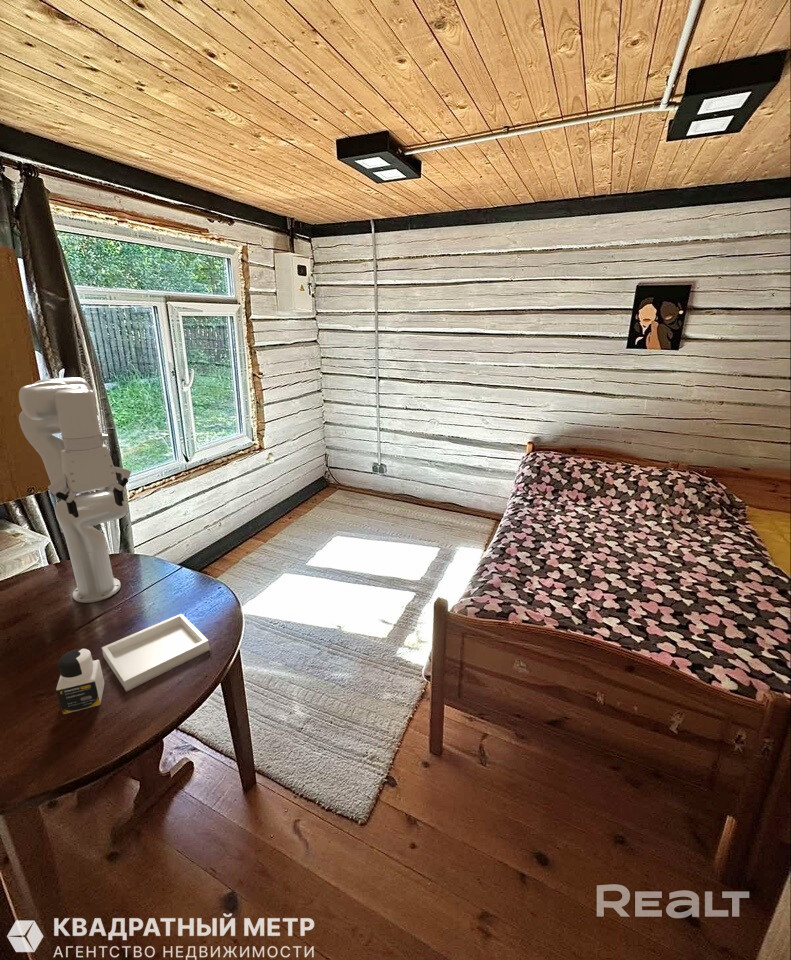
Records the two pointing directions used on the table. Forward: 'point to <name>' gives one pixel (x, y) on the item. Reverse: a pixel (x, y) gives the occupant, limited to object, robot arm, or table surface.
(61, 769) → the table surface
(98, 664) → the medicine bottle
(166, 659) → the tray
